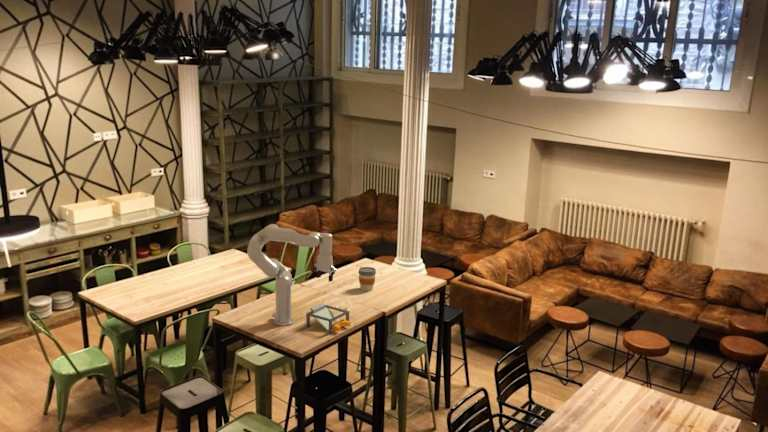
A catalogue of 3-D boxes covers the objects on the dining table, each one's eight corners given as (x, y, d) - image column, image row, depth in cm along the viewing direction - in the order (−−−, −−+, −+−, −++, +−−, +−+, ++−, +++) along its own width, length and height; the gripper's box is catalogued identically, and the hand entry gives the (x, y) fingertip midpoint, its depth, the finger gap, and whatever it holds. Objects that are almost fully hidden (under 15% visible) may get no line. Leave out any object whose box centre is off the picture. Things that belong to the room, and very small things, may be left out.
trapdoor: (307, 311, 424) (309, 308, 422) (322, 304, 436) (324, 301, 435) (327, 331, 417) (329, 327, 416) (342, 323, 430) (343, 320, 428)
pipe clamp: (330, 331, 418) (338, 334, 415) (330, 324, 417) (338, 327, 414) (341, 325, 428) (350, 328, 425) (342, 318, 427) (350, 321, 424)
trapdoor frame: (306, 327, 424) (306, 313, 422) (325, 317, 439) (325, 304, 437) (330, 334, 414) (330, 320, 412) (349, 324, 429) (349, 311, 427)
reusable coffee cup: (378, 290, 495) (379, 270, 491) (364, 293, 488) (364, 273, 484) (369, 285, 505) (369, 266, 501) (354, 288, 498) (355, 268, 494)
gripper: (311, 251, 424) (310, 277, 427) (332, 257, 414) (331, 283, 418) (319, 249, 430) (318, 274, 433) (340, 254, 420) (339, 281, 424)
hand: (324, 279), depth 426 cm, fingers open, 9 cm apart
